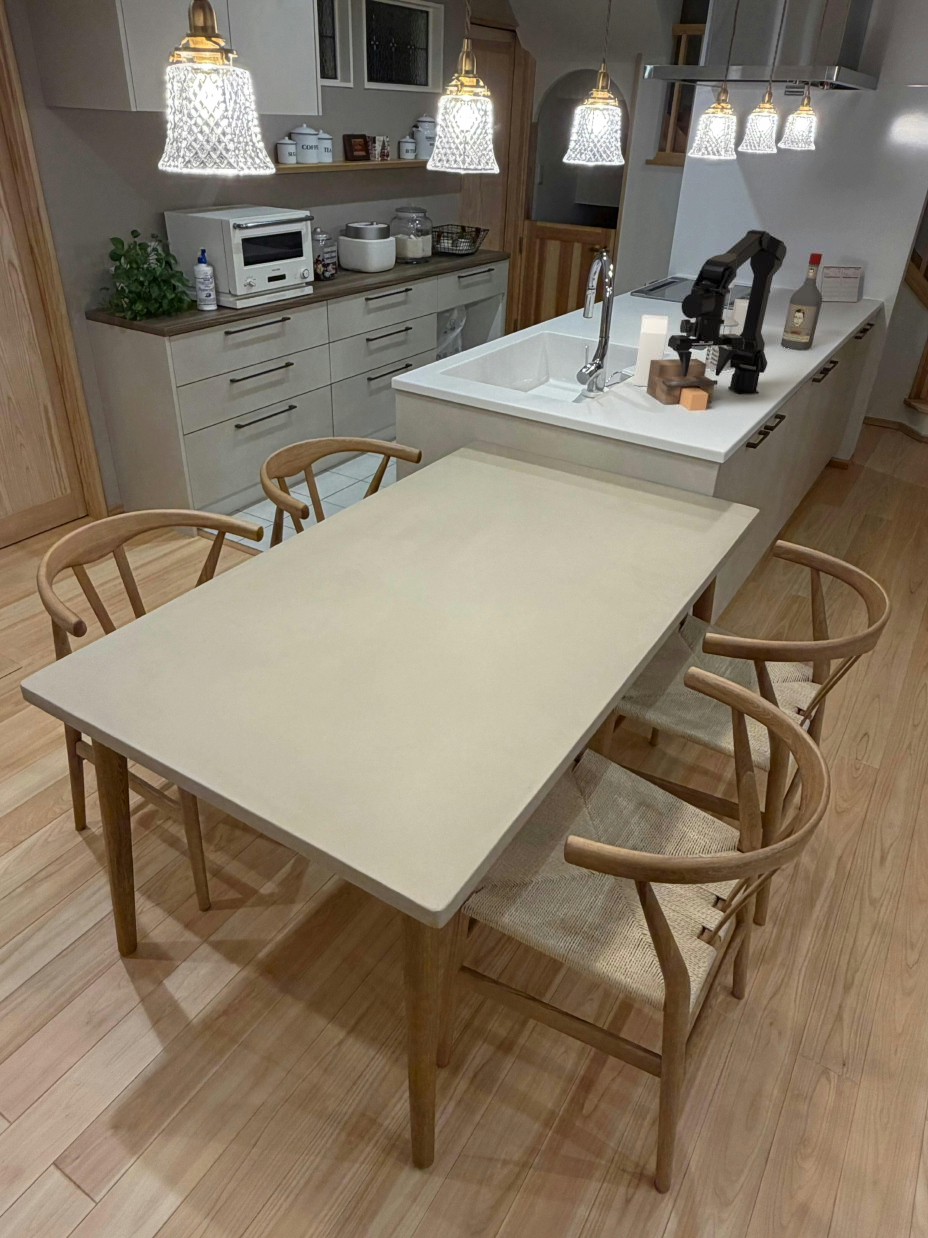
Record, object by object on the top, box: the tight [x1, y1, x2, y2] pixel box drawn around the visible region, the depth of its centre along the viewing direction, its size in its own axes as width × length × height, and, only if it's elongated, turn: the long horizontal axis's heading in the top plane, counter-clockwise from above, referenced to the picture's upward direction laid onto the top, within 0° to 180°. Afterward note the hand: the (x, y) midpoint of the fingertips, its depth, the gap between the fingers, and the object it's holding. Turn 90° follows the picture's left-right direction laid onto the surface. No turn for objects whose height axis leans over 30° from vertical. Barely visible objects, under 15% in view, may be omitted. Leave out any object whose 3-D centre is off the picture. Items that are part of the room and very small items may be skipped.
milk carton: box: [633, 314, 669, 387], centre depth 240 cm, size 7×7×19 cm
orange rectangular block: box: [678, 386, 708, 412], centre depth 226 cm, size 4×10×4 cm, turn 12°
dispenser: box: [646, 358, 719, 406], centre depth 230 cm, size 15×13×9 cm
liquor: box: [780, 252, 823, 351], centre depth 285 cm, size 9×9×30 cm
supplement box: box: [728, 298, 749, 335], centre depth 287 cm, size 9×9×15 cm
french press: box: [704, 282, 739, 371], centre depth 258 cm, size 10×12×25 cm
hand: (700, 376), depth 220 cm, fingers open, 9 cm apart
